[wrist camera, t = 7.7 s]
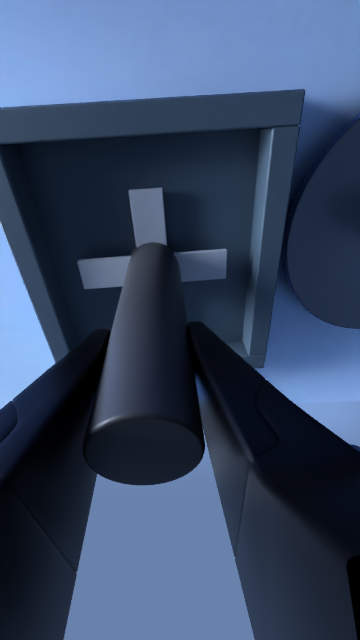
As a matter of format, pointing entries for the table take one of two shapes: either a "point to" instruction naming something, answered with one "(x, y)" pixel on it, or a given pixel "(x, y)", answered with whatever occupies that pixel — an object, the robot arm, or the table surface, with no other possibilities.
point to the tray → (178, 195)
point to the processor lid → (328, 233)
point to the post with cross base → (148, 356)
